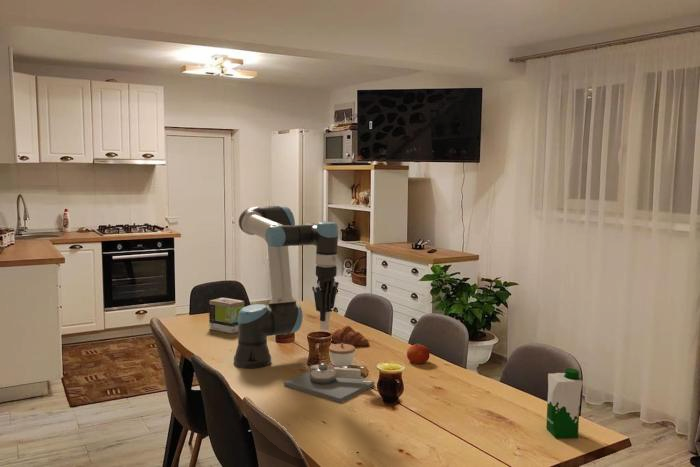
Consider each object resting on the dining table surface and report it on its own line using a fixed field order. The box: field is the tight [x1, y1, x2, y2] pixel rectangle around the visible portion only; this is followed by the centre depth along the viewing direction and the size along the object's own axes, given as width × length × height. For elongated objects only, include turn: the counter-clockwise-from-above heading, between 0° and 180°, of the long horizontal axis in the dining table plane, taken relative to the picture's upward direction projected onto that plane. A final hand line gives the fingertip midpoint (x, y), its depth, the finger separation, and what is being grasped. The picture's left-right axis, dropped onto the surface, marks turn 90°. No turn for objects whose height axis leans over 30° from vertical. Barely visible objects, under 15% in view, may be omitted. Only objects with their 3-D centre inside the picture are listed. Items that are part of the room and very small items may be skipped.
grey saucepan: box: [308, 362, 368, 384], centre depth 222 cm, size 22×10×6 cm, turn 82°
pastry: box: [330, 325, 370, 347], centre depth 277 cm, size 17×15×8 cm
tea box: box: [208, 297, 245, 334], centre depth 295 cm, size 15×10×15 cm, turn 58°
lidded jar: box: [328, 343, 356, 367], centre depth 244 cm, size 11×11×9 cm
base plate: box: [283, 371, 375, 403], centre depth 221 cm, size 26×21×2 cm
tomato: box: [406, 343, 431, 364], centre depth 250 cm, size 9×9×8 cm
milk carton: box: [545, 368, 584, 439], centre depth 184 cm, size 9×9×20 cm
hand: (324, 329), depth 217 cm, fingers closed
